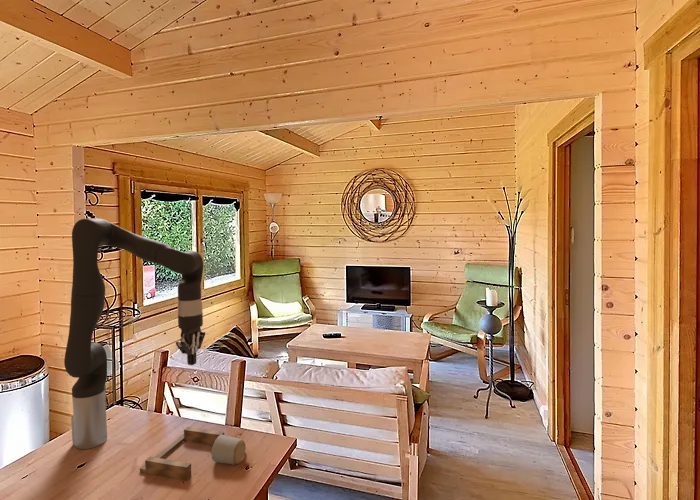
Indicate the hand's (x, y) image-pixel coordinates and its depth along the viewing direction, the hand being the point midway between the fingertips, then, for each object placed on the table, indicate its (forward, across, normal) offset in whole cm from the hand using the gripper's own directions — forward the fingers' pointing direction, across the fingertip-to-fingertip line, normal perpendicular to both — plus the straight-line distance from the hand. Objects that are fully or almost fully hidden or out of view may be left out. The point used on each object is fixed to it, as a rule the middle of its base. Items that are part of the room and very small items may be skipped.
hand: (192, 364), depth 136 cm
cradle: (+27, +8, +3) cm, 28 cm away
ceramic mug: (+27, +5, +16) cm, 32 cm away
